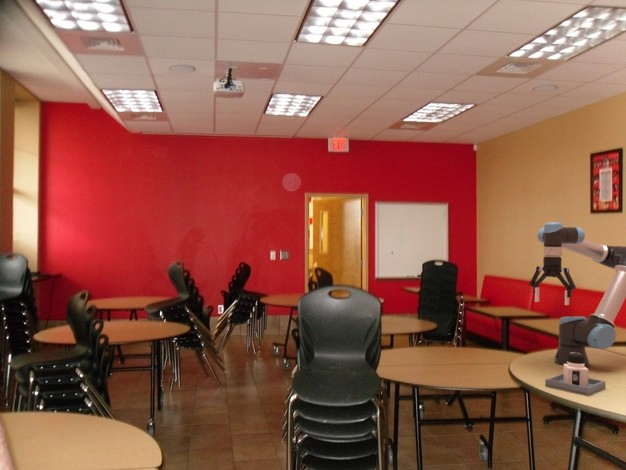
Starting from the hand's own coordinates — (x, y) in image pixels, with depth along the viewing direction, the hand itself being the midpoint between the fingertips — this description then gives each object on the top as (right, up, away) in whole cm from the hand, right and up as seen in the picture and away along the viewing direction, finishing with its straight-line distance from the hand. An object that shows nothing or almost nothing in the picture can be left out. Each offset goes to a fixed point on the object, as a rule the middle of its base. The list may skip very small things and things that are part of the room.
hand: (551, 303), depth 250 cm
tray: (-1, -32, -24) cm, 40 cm away
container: (-1, -31, -24) cm, 39 cm away
